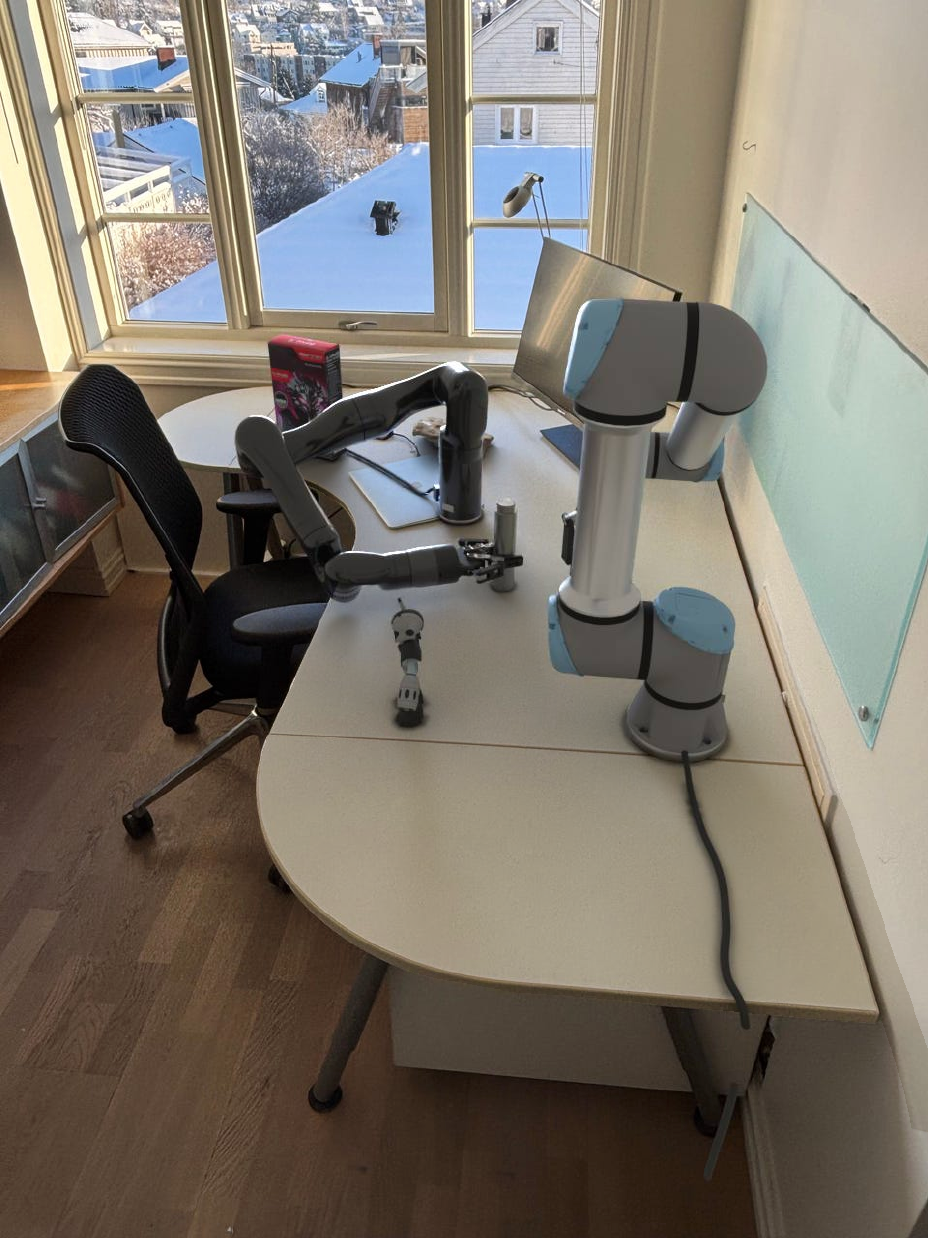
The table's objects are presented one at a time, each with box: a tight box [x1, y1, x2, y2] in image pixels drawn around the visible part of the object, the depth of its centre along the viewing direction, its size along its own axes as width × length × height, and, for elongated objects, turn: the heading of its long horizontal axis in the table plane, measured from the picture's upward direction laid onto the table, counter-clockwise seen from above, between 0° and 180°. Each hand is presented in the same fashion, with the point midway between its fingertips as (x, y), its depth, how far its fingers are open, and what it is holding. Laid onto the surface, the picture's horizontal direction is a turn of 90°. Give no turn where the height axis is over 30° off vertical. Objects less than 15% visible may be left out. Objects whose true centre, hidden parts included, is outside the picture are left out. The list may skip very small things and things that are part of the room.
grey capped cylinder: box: [491, 497, 518, 592], centre depth 173 cm, size 4×4×18 cm
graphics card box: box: [267, 333, 348, 461], centre depth 223 cm, size 17×7×27 cm, turn 62°
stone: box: [411, 416, 495, 458], centre depth 231 cm, size 21×15×6 cm
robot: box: [390, 597, 425, 728], centre depth 141 cm, size 20×5×20 cm, turn 3°
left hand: (517, 553), depth 175 cm, fingers closed on grey capped cylinder, 4 cm apart
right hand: (590, 589), depth 177 cm, fingers closed on lid, 5 cm apart
